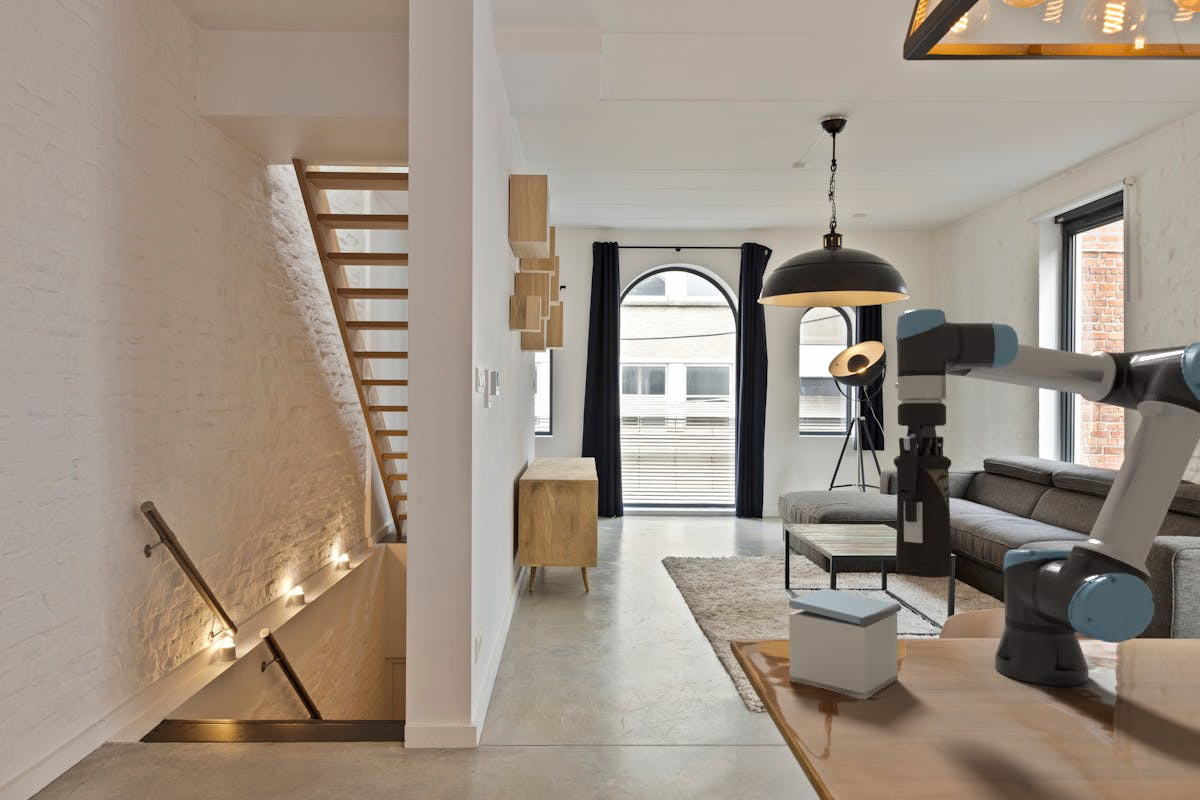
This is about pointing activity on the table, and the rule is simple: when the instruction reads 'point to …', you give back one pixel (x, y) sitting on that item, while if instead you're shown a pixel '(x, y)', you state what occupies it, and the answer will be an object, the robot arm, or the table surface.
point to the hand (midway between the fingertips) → (923, 539)
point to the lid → (845, 606)
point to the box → (842, 653)
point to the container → (928, 523)
